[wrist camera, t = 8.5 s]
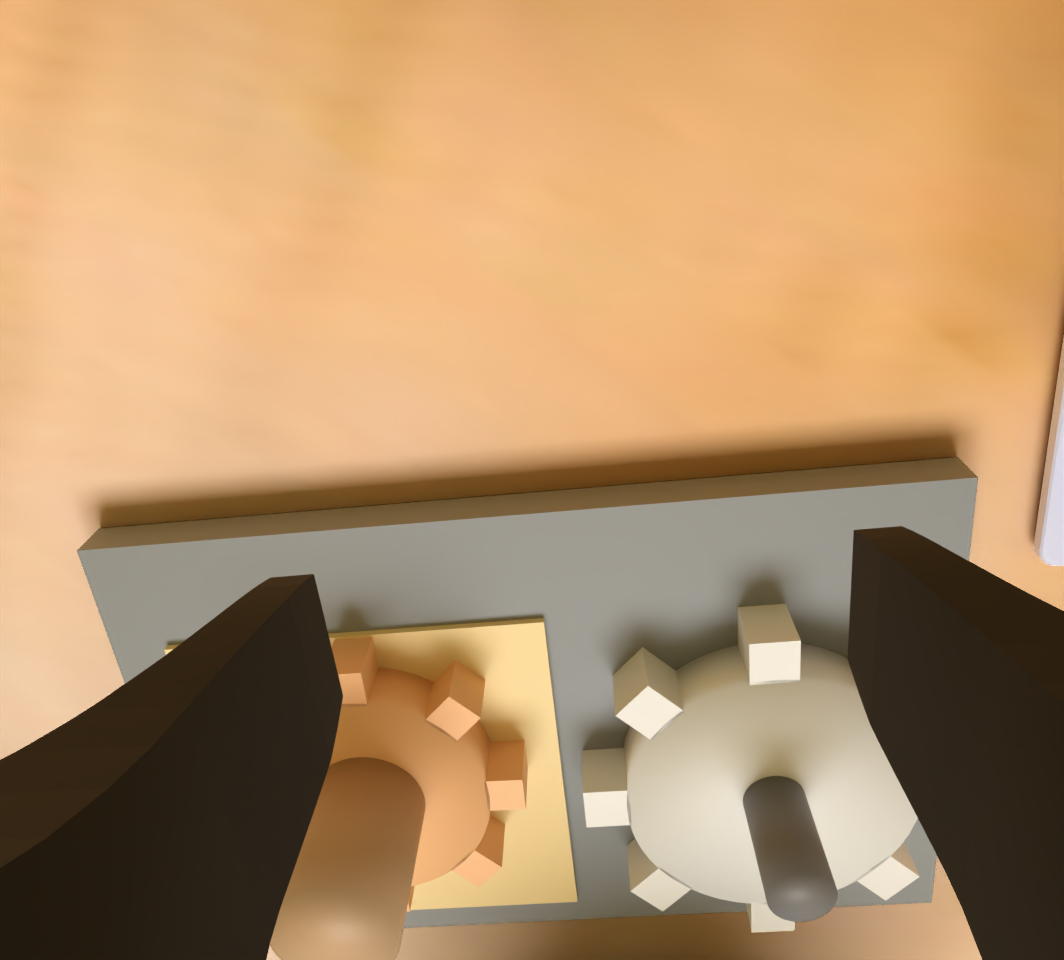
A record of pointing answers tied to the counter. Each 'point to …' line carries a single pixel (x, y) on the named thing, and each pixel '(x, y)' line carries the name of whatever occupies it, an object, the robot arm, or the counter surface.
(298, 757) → the robot arm
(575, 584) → the gear board
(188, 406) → the counter surface
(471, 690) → the wood gear
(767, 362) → the counter surface
